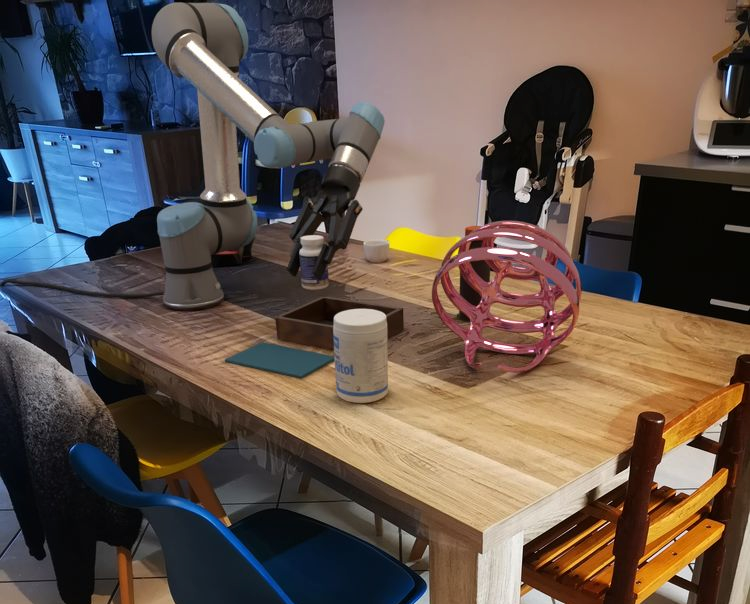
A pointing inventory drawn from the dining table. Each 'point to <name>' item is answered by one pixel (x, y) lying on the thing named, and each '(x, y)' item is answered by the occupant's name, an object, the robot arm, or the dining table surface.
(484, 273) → the vinegar
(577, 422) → the dining table surface
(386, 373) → the supplement tub
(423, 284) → the dining table surface
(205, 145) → the robot arm
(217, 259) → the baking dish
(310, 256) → the pill bottle
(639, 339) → the dining table surface
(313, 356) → the mat
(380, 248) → the teacup
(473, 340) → the spiral basket
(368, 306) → the wooden tray
